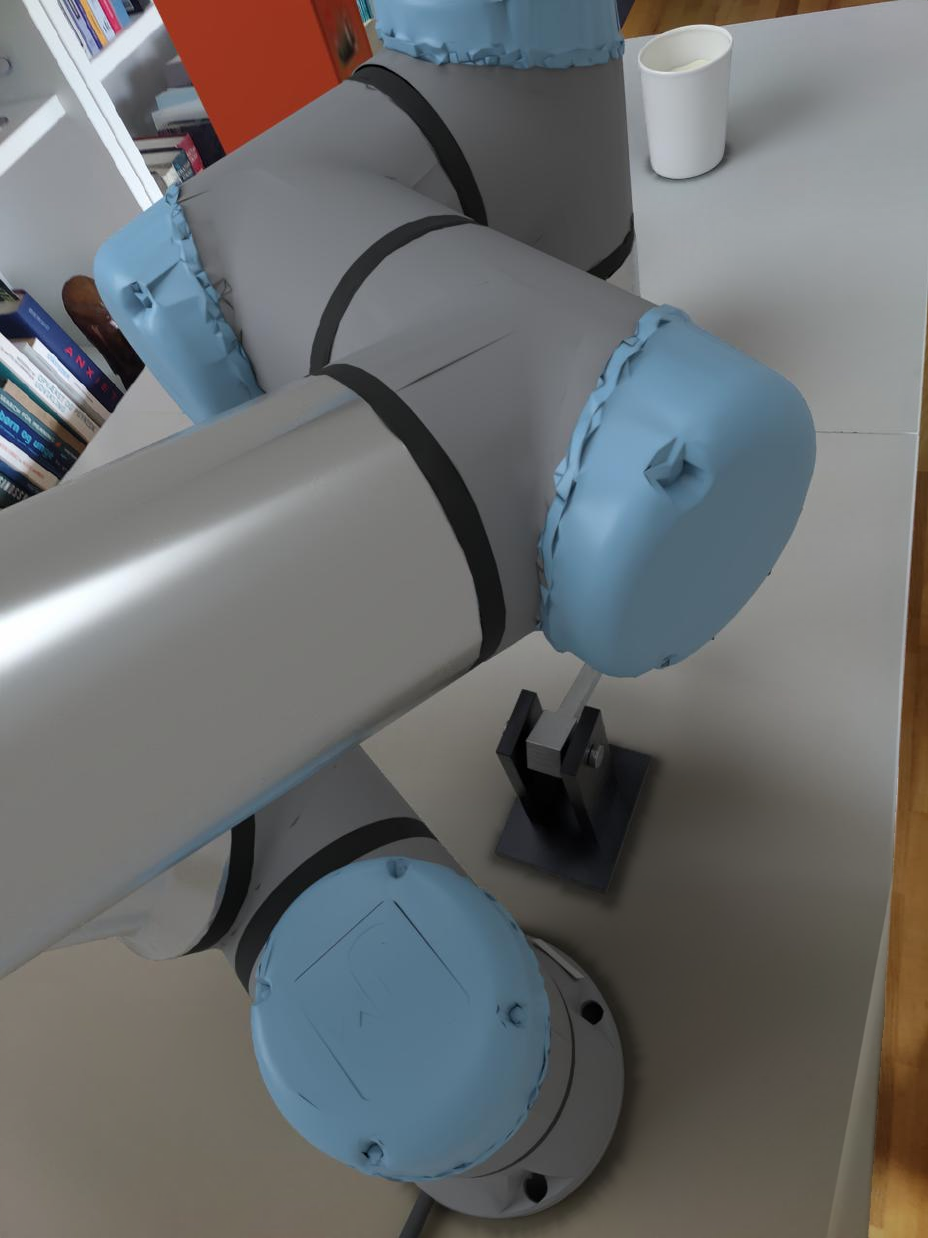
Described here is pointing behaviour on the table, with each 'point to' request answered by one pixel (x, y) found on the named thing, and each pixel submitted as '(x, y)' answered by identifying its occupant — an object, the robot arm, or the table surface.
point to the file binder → (263, 57)
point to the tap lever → (559, 726)
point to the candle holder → (686, 98)
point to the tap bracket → (570, 799)
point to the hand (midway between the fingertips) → (607, 598)
